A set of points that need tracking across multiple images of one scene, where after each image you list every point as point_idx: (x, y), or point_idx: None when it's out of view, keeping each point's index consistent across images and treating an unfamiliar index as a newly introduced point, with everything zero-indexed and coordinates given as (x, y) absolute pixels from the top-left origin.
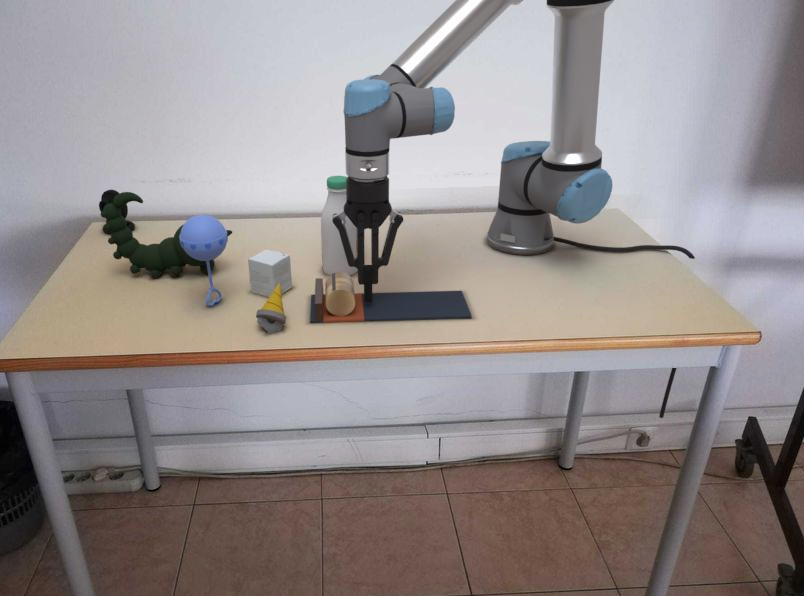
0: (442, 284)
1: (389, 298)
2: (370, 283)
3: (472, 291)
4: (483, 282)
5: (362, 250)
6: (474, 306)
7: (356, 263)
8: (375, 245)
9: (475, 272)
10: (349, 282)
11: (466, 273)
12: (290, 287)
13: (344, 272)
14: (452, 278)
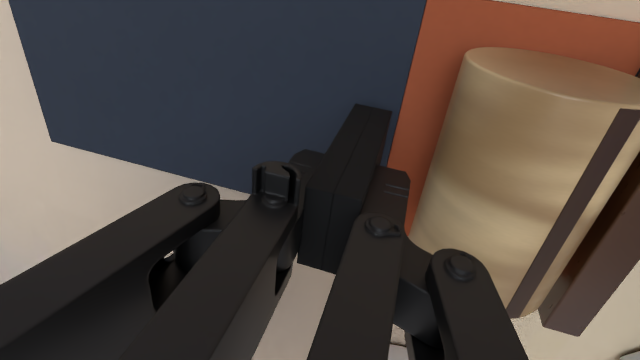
0: (115, 205)
1: (278, 157)
2: (342, 146)
3: (30, 137)
4: (13, 180)
5: (335, 342)
6: (6, 31)
7: (409, 267)
8: (171, 345)
9: (41, 236)
10: (452, 213)
11: (61, 239)
12: (634, 356)
13: (395, 357)
14: (92, 227)
